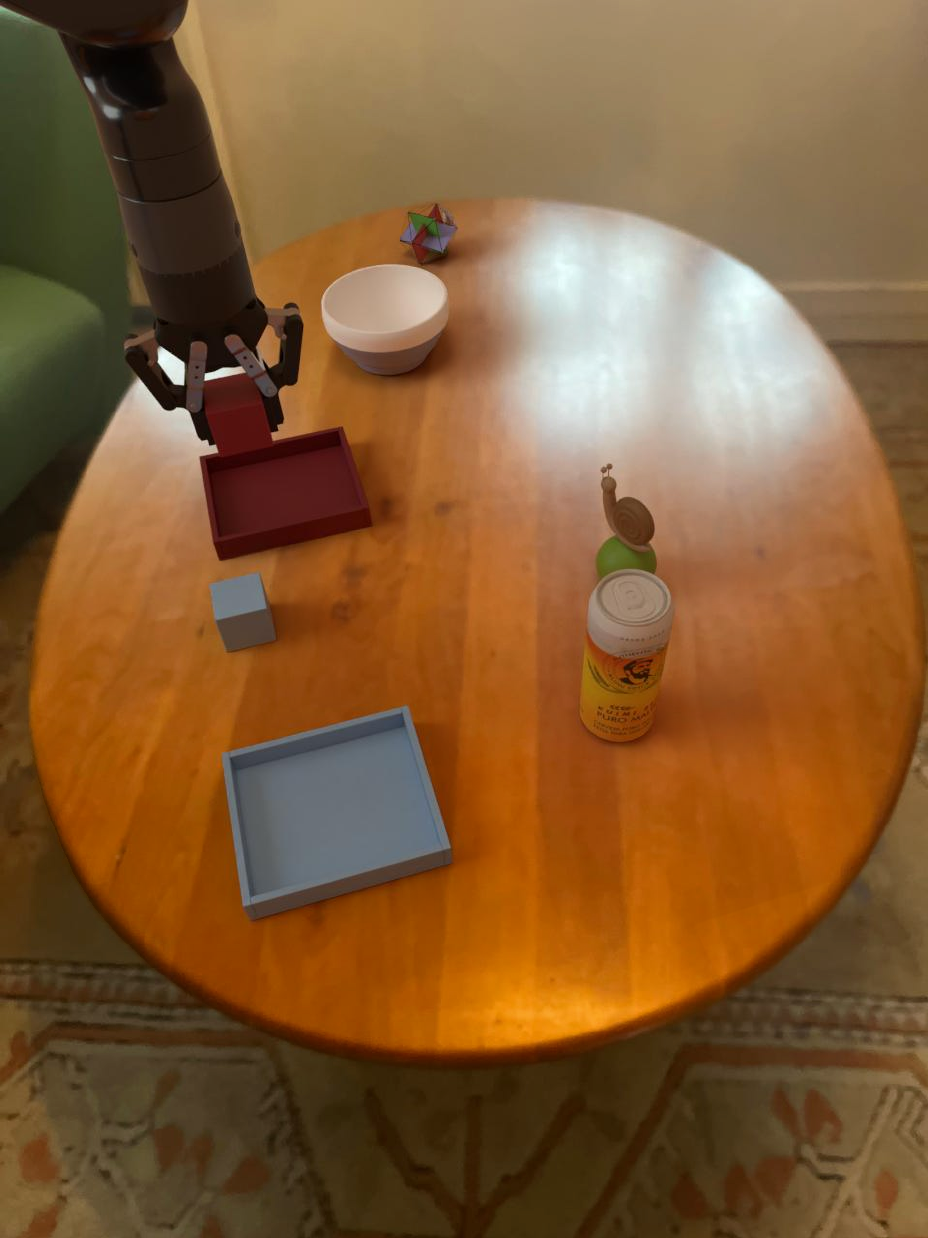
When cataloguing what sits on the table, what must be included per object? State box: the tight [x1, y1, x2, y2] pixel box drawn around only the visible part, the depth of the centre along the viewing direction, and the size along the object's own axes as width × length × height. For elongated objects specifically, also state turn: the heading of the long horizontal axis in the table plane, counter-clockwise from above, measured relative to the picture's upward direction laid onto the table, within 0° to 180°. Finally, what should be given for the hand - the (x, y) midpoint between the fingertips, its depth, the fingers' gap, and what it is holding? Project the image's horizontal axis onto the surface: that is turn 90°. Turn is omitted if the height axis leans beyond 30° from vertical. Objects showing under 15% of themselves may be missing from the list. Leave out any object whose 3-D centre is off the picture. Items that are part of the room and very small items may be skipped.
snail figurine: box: [595, 463, 658, 581], centre depth 84 cm, size 5×6×12 cm
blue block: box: [209, 571, 277, 653], centre depth 85 cm, size 4×4×4 cm
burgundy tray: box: [198, 425, 373, 561], centre depth 96 cm, size 15×13×2 cm
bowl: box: [320, 263, 450, 376], centre depth 110 cm, size 14×14×8 cm
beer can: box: [578, 569, 676, 743], centre depth 73 cm, size 6×6×15 cm
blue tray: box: [221, 704, 454, 921], centre depth 73 cm, size 15×13×2 cm
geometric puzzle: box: [398, 202, 459, 266], centre depth 124 cm, size 7×7×8 cm
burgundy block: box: [203, 371, 274, 457], centre depth 78 cm, size 4×4×4 cm
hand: (242, 431), depth 80 cm, fingers closed on burgundy block, 4 cm apart
